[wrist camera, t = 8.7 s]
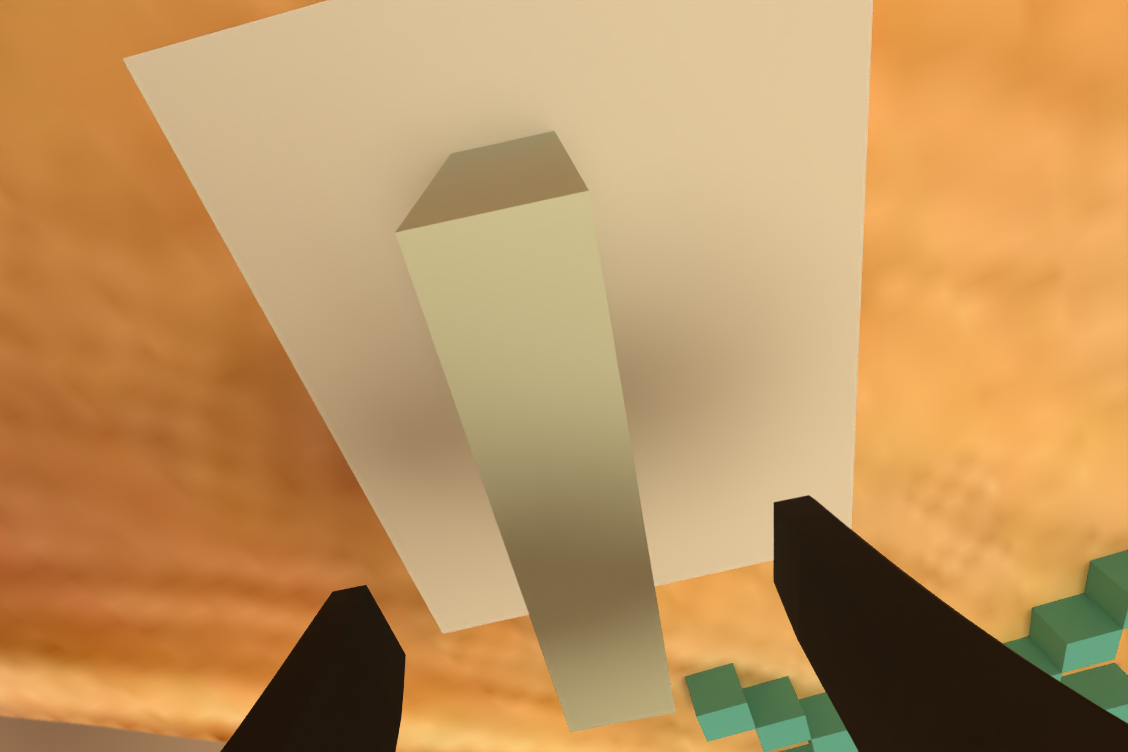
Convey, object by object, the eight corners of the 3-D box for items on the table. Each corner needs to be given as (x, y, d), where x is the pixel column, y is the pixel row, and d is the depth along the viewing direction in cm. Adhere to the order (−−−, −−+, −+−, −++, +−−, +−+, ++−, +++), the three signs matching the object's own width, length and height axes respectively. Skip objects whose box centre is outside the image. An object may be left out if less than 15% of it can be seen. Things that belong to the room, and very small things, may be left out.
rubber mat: (444, 622, 22) (442, 633, 22) (136, 58, 12) (122, 58, 12) (843, 532, 21) (850, 542, 21) (865, -149, 11) (878, -157, 11)
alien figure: (682, 667, 26) (756, 838, 35) (696, 716, 24) (770, 883, 33) (1135, 537, 23) (1080, 757, 33) (1191, 579, 21) (1115, 800, 31)
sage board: (552, 518, 19) (570, 732, 13) (451, 153, 13) (395, 232, 7) (624, 504, 19) (675, 712, 13) (554, 130, 13) (588, 190, 7)
